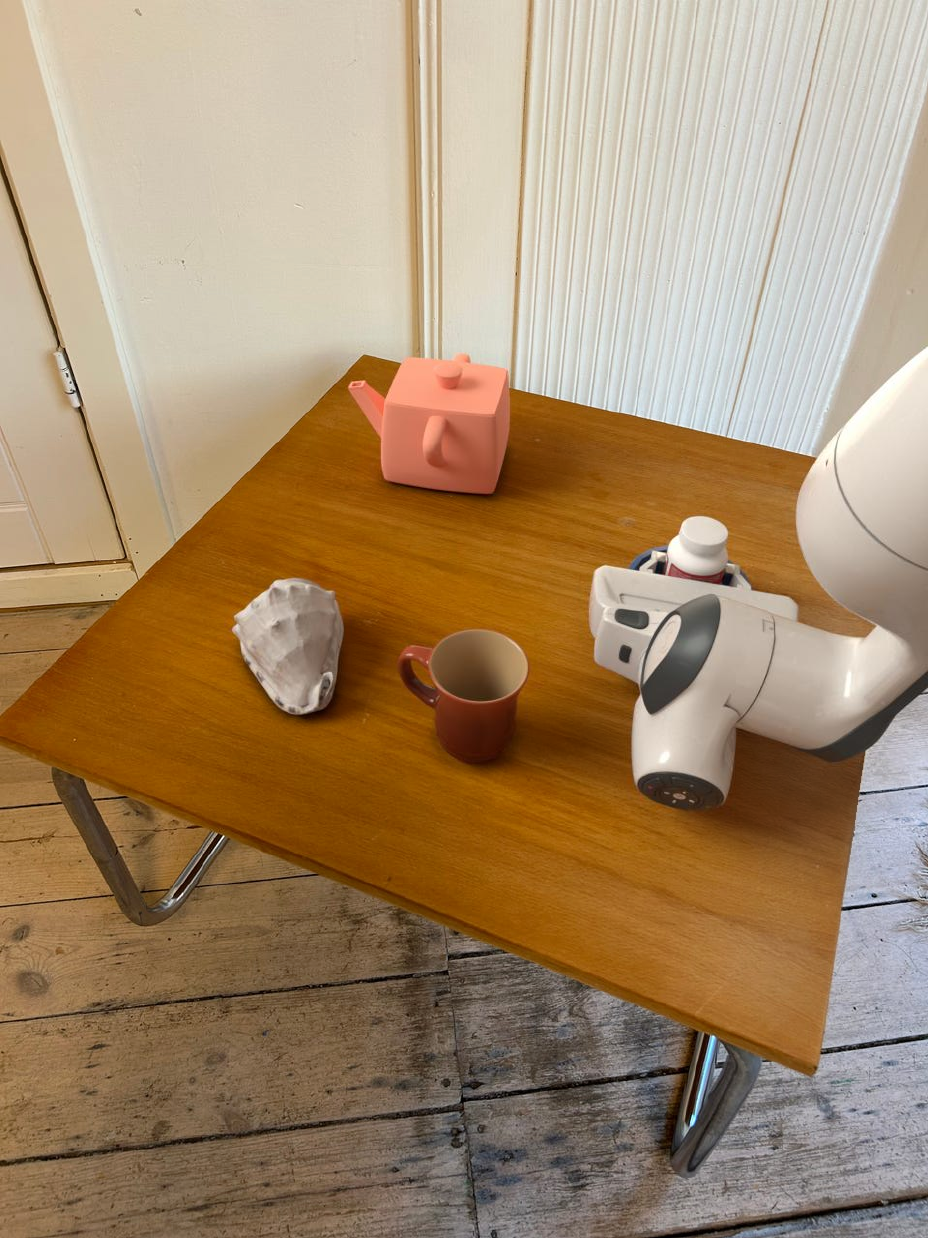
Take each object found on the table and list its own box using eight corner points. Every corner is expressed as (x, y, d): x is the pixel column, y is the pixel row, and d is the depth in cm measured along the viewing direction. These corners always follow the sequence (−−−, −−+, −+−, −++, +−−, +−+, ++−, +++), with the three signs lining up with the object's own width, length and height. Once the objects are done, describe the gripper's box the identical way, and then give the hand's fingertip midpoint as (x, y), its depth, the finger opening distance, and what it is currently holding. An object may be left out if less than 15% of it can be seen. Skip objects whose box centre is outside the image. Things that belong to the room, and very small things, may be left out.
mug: (532, 717, 84) (542, 645, 76) (501, 788, 78) (509, 716, 70) (420, 680, 86) (419, 607, 79) (381, 745, 81) (377, 672, 73)
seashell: (300, 733, 81) (288, 662, 74) (219, 652, 88) (200, 580, 81) (398, 668, 88) (395, 597, 80) (315, 597, 94) (306, 526, 87)
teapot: (514, 426, 120) (522, 332, 110) (490, 523, 104) (496, 424, 95) (375, 409, 122) (370, 315, 112) (331, 502, 106) (321, 403, 97)
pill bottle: (719, 624, 92) (746, 545, 85) (666, 632, 91) (688, 553, 84) (696, 586, 97) (720, 507, 89) (645, 593, 96) (664, 514, 88)
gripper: (812, 654, 77) (804, 556, 87) (586, 614, 80) (602, 522, 90) (791, 699, 82) (786, 601, 91) (577, 659, 85) (594, 568, 94)
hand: (693, 562), depth 90 cm, fingers closed on pill bottle, 6 cm apart
